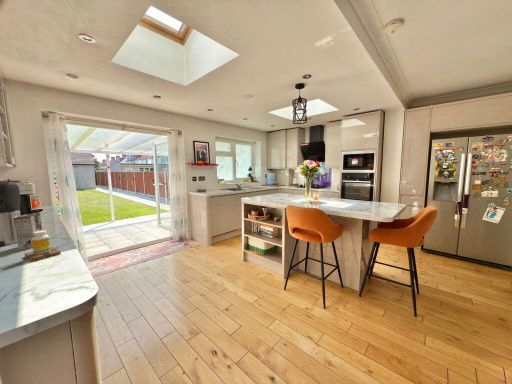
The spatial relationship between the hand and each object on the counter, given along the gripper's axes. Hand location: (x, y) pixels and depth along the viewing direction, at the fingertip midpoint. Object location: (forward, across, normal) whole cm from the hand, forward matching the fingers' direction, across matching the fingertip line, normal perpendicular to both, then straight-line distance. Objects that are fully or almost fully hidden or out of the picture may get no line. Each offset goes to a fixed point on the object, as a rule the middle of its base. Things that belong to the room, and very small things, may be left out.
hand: (1, 241), depth 82 cm
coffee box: (+12, +24, +10) cm, 29 cm away
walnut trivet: (+11, 0, +10) cm, 15 cm away
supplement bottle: (+11, 0, +8) cm, 14 cm away
